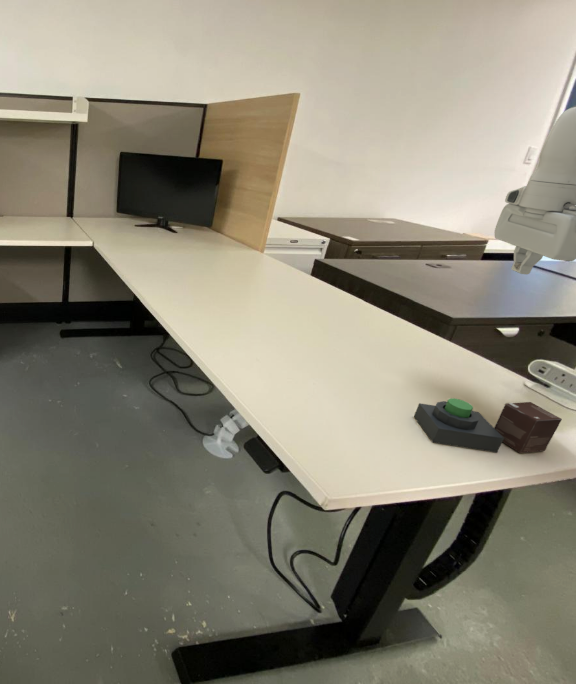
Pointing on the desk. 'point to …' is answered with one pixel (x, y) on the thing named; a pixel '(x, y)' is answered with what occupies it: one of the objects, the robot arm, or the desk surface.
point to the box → (526, 426)
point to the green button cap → (458, 408)
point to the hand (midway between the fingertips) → (519, 272)
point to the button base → (457, 428)
